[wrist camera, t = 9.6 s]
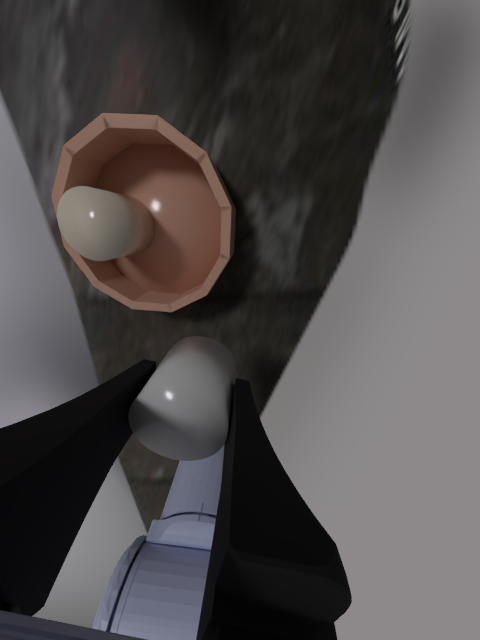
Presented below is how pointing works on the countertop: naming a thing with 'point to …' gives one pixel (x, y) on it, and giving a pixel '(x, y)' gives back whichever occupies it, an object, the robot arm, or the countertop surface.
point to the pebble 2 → (186, 401)
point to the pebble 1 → (104, 223)
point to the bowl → (153, 209)
